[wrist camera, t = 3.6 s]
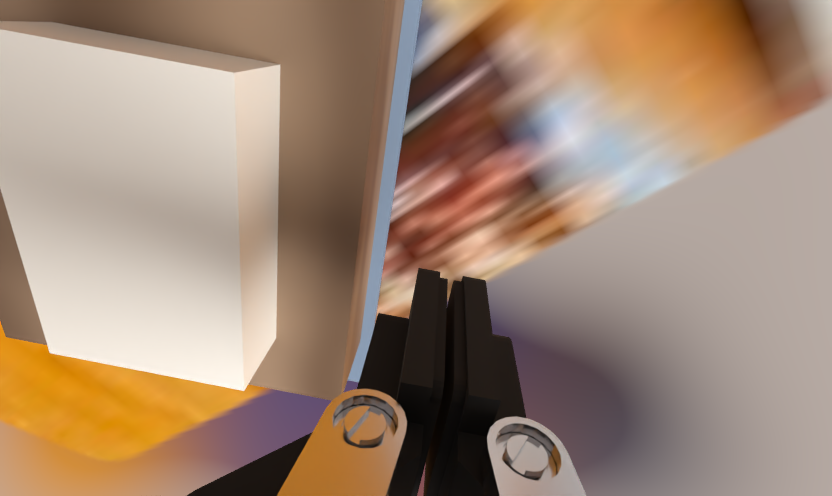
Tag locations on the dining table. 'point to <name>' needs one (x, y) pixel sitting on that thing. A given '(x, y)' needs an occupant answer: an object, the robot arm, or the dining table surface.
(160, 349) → the tile
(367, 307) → the placemat
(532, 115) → the dining table surface
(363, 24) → the block
